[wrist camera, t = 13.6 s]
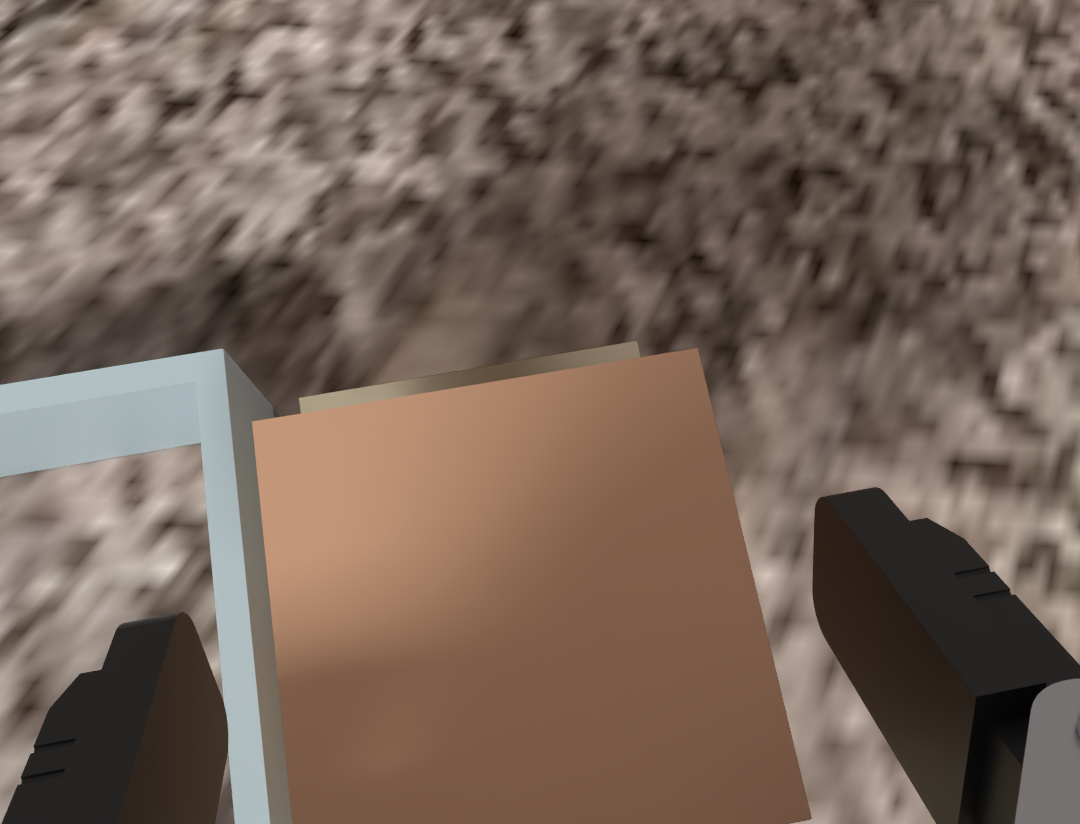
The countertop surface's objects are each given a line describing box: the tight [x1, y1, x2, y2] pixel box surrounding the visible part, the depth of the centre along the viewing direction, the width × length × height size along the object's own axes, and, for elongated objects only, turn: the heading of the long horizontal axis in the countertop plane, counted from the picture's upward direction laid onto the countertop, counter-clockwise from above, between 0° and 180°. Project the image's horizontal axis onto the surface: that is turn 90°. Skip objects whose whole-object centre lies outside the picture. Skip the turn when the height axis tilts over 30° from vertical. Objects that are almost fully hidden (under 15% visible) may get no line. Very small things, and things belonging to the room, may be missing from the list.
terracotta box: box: [252, 348, 812, 824], centre depth 15 cm, size 5×5×10 cm
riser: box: [299, 341, 641, 413], centre depth 20 cm, size 8×12×2 cm, turn 11°
